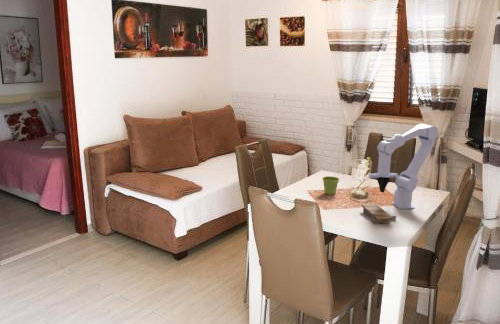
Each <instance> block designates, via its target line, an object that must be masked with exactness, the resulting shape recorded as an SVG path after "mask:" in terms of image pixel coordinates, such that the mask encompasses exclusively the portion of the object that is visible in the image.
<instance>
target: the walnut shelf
mask: <svg viewBox="0 0 500 324" xmlns="http://www.w3.org/2000/svg"><path fill="white" fill-rule="evenodd" d="M360 206H361V207H362V209H363V210H362V213H363V214H364V215H366V216H368V217H369V218H370V219H371V220H372V222H373V223H374V224H377V223H379V224H381V223H390V221H391V220H390V219H393V217H392V216H391V215H390V214H388V213H387V212H386V211H384V209H383V208H382V207H380V206H379V204H377V203H361V204H360Z"/></svg>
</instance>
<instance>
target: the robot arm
mask: <svg viewBox="0 0 500 324" xmlns="http://www.w3.org/2000/svg"><path fill="white" fill-rule="evenodd" d="M438 136H439V129H438V127H437V126H435V125H429V124H426V123H419V124H416V125H415V126H414V127H413V128H411V129H409V131H407V132H405V133H403V134H394V136H392V137H391V138H387V139H386V140H382V141H380V142H379V143H377V144H378V145H377V146H376V150H377V151H378V155H379V156H378V162H377V163H378V165H377V172H375V173H368V178H369V179H376V181H377V183H378V186H379V188H378V189H379V192H381V193H385V190H386V187H387V186H388V184H389V183H390V182H391V178H394V179H395V185H396V189H395V190H394V193H393V194H394V195H393V201H392V202H391V204H392V205H394V206H395V207H396V208H397V209H400V210H404V209H405V210H407V209H408V210H409V209H415V207H414V206H412V201H413V200H412V197H413V192H414V190H416V188H417V184H418V182H419V178H418V176H417V175H418V174H419V172H420V170H421V168H422V167H423V165H424V164H425V162H426V160H427V158H428V156H429V154H430V153H431V151H432V149H433V147H434V145H435V141H436V140H437V137H438ZM416 137H418V139H419V141H420V143H421V144H420V146H419V148H418V149H417V151H416V153H415V155H414V156H413V158H412V160H411V162H410V163H409V165H408V166H407V168H406V169H405V170H404V171H402V172H400V174H398V173H396V172H390V171H391V160H392V154H393V153H394V152H395V150H396V149H398V148H401V147H403V145H405V144H406V142H407V141H409V140H411V139H413V138H416Z"/></svg>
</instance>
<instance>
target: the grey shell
mask: <svg viewBox="0 0 500 324" xmlns="http://www.w3.org/2000/svg"><path fill="white" fill-rule="evenodd" d="M383 210H384V209H383ZM384 211H386V212H387V213H388V214H390V215H391V216H392V217H393V219H390V221H395V220H396V219H397V215H396V214H394V212H392V211H391V210H389V209H386V210H384Z"/></svg>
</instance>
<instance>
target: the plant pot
mask: <svg viewBox="0 0 500 324" xmlns="http://www.w3.org/2000/svg"><path fill="white" fill-rule="evenodd" d="M322 181H323V189H324V194H326V195H329V196H333V195H335V194H336V192H337V188H338V183H339V182H340V178H339V177H337V176H324V177H322Z"/></svg>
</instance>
